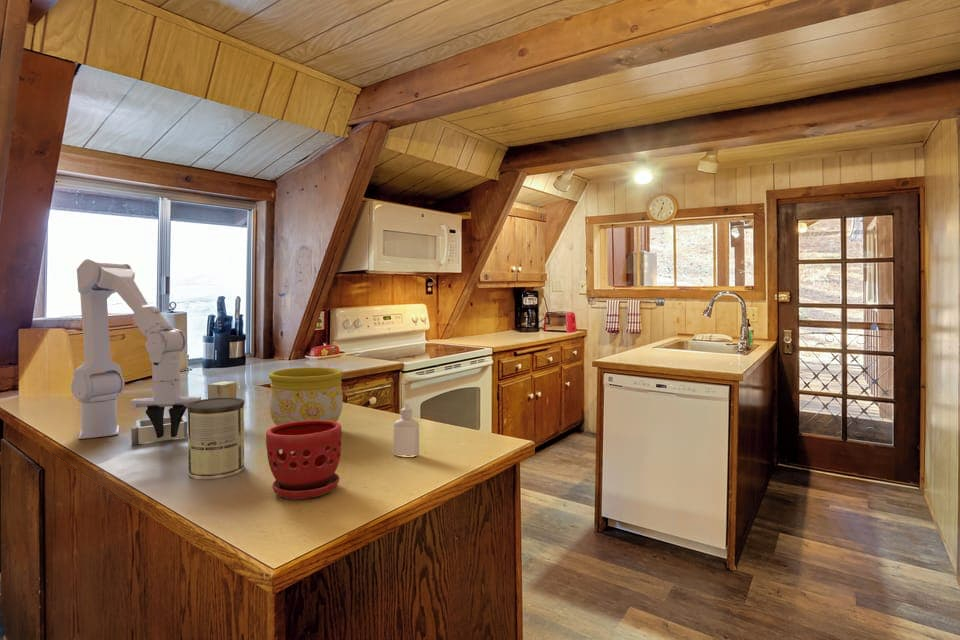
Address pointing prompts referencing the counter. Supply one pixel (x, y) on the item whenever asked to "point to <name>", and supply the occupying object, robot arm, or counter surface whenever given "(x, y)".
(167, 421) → the open grey tray
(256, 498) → the counter surface
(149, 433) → the cover
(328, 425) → the plant pot
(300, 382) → the flowerpot
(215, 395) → the skincare box
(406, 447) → the eye dropper bottle
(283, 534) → the counter surface
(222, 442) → the coffee can
